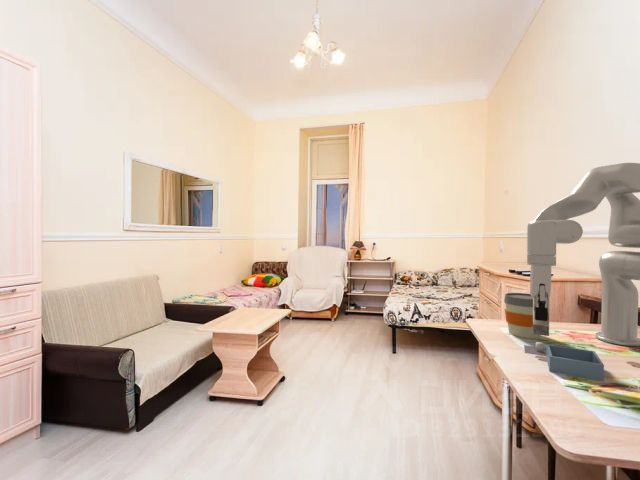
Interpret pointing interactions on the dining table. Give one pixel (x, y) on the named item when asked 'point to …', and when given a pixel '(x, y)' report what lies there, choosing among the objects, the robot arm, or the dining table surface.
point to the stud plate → (530, 349)
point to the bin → (574, 362)
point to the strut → (538, 325)
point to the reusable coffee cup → (519, 314)
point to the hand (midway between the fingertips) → (540, 317)
